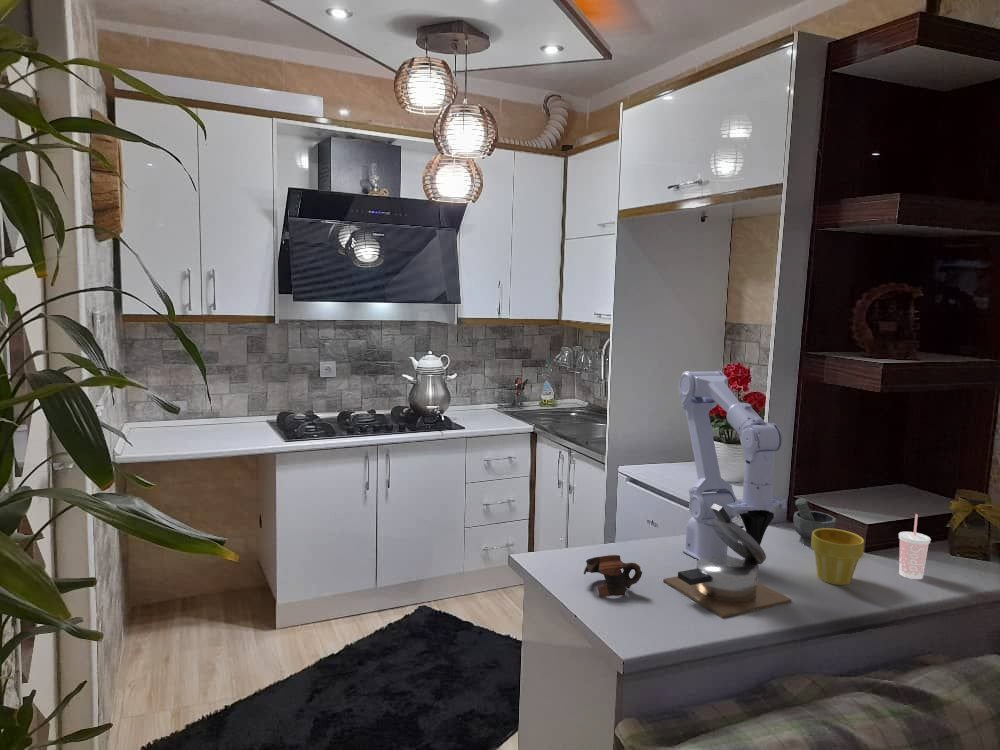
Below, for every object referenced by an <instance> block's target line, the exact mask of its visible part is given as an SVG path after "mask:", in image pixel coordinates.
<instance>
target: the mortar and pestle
mask: <svg viewBox="0 0 1000 750" xmlns="http://www.w3.org/2000/svg"><path fill="white" fill-rule="evenodd" d="M794 504H795V506H796V507H797V509H798V511H795V512H794V514H793V519H792V521H793V528H794V529H795V531H796V533H797V534H798V535H799V537H800V538H799V543H800V542H801V543H802V544H801V543H800V544H801V545H803V544H804V545H803V546H806V545H807V547H809V546H811V537H812V532H813V531H814V530H816V529H821V528H831V529H835V527H836V522H837V521H836V520H837V518H836V517H834V516H832V515H831V514H829V513H825V512H821V511H817V510H811V509H810V507H809V505H808V500H807V499H806V498H804V497H803V498H802V497H800V498H797V499H796V500H795V503H794Z"/></svg>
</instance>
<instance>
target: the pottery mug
mask: <svg viewBox="0 0 1000 750" xmlns="http://www.w3.org/2000/svg"><path fill="white" fill-rule="evenodd" d="M585 562H586V566H585V568H584V570H583V575H586V574H587V573H591V574H595V573H596V574H597V573H598V574H601V575H602V576H603V577H604V580H605V583H604V584H601V585H598V586H597V592H598V595H599V597H600V596H601V597H600V598H604V597H606V598H607V597H614V596H615V597H621V596H626V593H627V592H626V590H627V589H628V590H630V588H631V587H632V585H635V584H637V583H638V582H639V580H640V579H641V578H642V574H643V571H642V570H641V566H640V565H639V564H638V563H636V562H624V561H622V560H621V555H619V554H609V555H602V556H594V557H592V558H588V559H586V561H585ZM632 570H634V575H633V576H632V577H630V573H631V572H632Z"/></svg>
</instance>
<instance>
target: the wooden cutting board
mask: <svg viewBox="0 0 1000 750" xmlns="http://www.w3.org/2000/svg"><path fill="white" fill-rule="evenodd" d="M759 566H760V564H757V565H756V564H754V563H752V562H750V561H748V560H746V559H745V558H743V559H741V558H737V557H733V556H731V557H728V556H707V557H703V558H701V559H699V560H698V559H697V563H696V568H693V569H687V570H681V571H678V572H677V576H672V577H668V578H663V581H662V582H663V583H665V585H668V586H670V587H671V588H673V589H675V590H676V591H678V592H680V593H681V594H682V595H684V596H686V597H687V598H689V599H691V600H693V601H694V602H696V603H697V604H699V606H700V605H701V606H702V607H704V608H705V609H707V610H708V611H711V612H712V613H714V614H715V615H717V616H718V617H720V618H721V619H723V618H727V617H732V616H735V615H740V614H744V613H745V612H746V613H749V611H750V612H753V610H755V611H758V610H757V609H759V610H763V609H768V608H771V607H777V606H781V605H784V604H789V603H792V601H793V599H792V598H790V597H788V596H786V595H785V594H783V593H781V592H778V591H777V590H774V589H773V588H771V587H769V586H768V585H765V584H763V583H761V582H759V581H758V576H759V575H758V574H759V569H760V568H759ZM776 605H777V606H776Z"/></svg>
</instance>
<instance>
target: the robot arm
mask: <svg viewBox="0 0 1000 750" xmlns="http://www.w3.org/2000/svg"><path fill="white" fill-rule="evenodd" d="M677 389H678V395H679V399H680V404H681V408H682V409H684V410H685V415H686V419H687V421H686V422H687V425H688V432H689V435H690V442H691V446H692V452H693V453H692V454H693V457H694V462H695V463H694V465H695V469H696V475H697V481H696V482H695V483H694V484H693V485H692V486H691V487H690V489H689V491H688V492H689V501H688V503H689V505H688V507H689V512H690V515H691V517H690V519H689V520H688V522H687V523H686V534H685V535H686V536H685V548H684V549H682V552H683V553H685V554H687V555H688V556H691V557H692V558H694V559H697V561H698V560H699V559H701V558H703V557H707V556H728V557H732V555H729V554H728V547H729V546H728V545H727V544H725V543H724V542H723V541H722V539H721V538H720V537H719V536H718V535H717V533H716V532H715V531H714V529H713V527H712V523H711V522H712V520H713V519H714V518H715V517H717V516H716V515H715V513H714V512H713V510H712V509H711V507H712V505H713V504H717V505H719V506H722V507H723V508H724V510H725V511H726V513H727V514H728V516H729V517H730V518H731V520H730V521H732V522H733V519H735V517H737V516H738V515H739V516H740V518H741V520H742V523H743V526H744V528H745V529H744V530H745V531H746V532H747V533H748V534H749V535H751V536H752V537H753V538H754V539H755V540H756V541H757V543H758V544H759V545H760V546H761V544H762V541H763V538H764V535H765V533H766V530H767V528H768V527H769V525H770V524H771V522H772V521H773V519H774V516H775V513H773V512H771V511H775V509H782V510H784V509H786V506H787V505H786V504H787V503H786V502H787V499H785V498H783V497H780V496H776V497H773V488H774V487H773V486H774V476H775V475H774V472H775V456H776V452H777V451H779V450H780V449H781V447H782V444H783V435H782V434H783V433H782V432H781V428H780V427H778V425H777V424H776V423H774V422H773V423H769V422H768V421H765V420H764V419H763V418H762V417H761V416H760V415H759V414H758V413H757V412H756V410H754V409H753V407H752V405H751V404H750V403H746V402H740V401H739V400H738V398H737V397H736V395H735V394H734V392H732V390H731V388H729V380H728V377H727V375H725V373H724V372H723V371H721V370H714V371H689V370H687V371H683V372H682V374H681V375H680V377H679V381H678V384H677ZM717 406H719V407H720V408H721V409H722V410H723V411H724V412H726V421H727V422H728V424H729V425H730V426H731V427H732V428H733V429H734V430H735V432H736V433H737V434H738V435H739V439H740V446H741V448H742V449H741V450H742V458H743V460H744V470H743V471H744V473H743V487H742V488H743V489H742V499H740V500H738V499H737V496H736V495H735V493H734V491H733V490H734V489H733V485H732V484H731V483H729V482H727V480H725V479H724V478H722V475H721V472H720V465H719V461H718V460H719V459H718V455H717V449H716V446H715V445H716V444H715V441H714V434H713V430H712V425H711V424H712V423H711V419H710V411H711V410H712V409H714V408H716V407H717Z"/></svg>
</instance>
